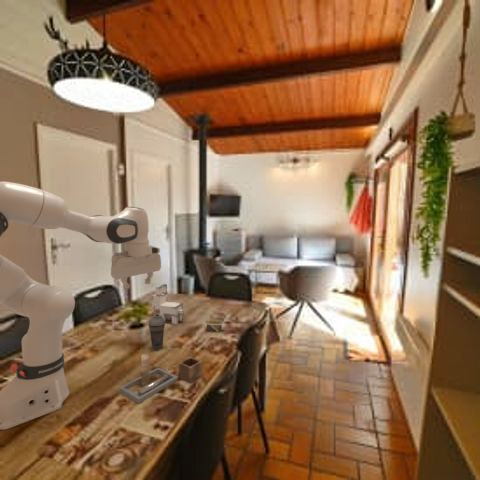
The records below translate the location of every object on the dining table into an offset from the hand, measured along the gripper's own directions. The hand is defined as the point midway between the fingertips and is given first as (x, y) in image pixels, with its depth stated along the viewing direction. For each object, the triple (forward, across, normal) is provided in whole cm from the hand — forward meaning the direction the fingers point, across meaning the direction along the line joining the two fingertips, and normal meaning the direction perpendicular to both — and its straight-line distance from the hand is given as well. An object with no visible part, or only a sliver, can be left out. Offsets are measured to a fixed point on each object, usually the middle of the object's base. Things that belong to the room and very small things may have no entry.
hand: (137, 286), depth 120 cm
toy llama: (+34, +43, +31) cm, 63 cm away
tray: (+34, -5, -12) cm, 37 cm away
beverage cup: (+34, +17, +10) cm, 40 cm away
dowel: (+34, -5, -10) cm, 35 cm away
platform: (+35, +48, +2) cm, 59 cm away
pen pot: (+34, +8, -20) cm, 40 cm away
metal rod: (+34, -5, -15) cm, 37 cm away
